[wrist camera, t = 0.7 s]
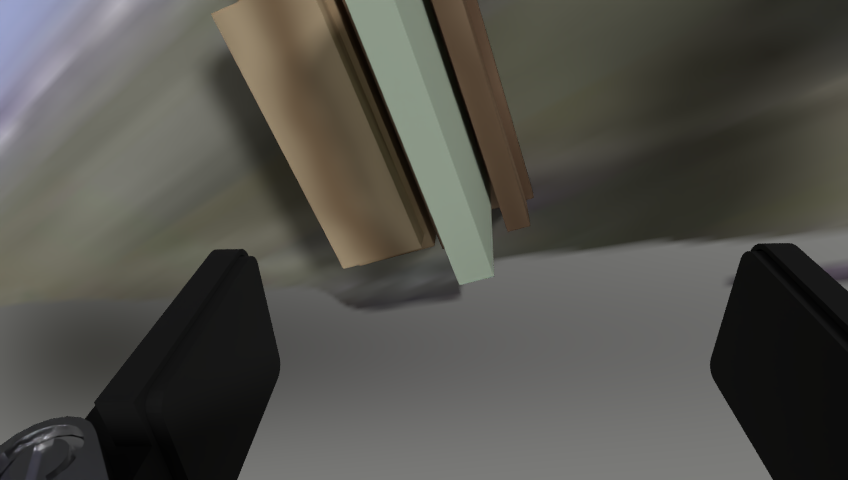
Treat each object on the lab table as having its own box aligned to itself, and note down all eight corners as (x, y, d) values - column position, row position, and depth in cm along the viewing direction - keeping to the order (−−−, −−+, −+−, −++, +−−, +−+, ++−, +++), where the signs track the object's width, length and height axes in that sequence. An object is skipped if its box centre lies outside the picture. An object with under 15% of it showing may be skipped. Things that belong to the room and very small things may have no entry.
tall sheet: (414, -44, 32) (383, -30, 22) (490, 185, 39) (494, 276, 29) (384, -31, 32) (340, -12, 22) (464, 192, 40) (459, 285, 29)
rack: (448, -99, 31) (441, -105, 26) (532, 190, 40) (541, 233, 35) (248, -11, 35) (204, 0, 29) (367, 237, 44) (350, 283, 38)
